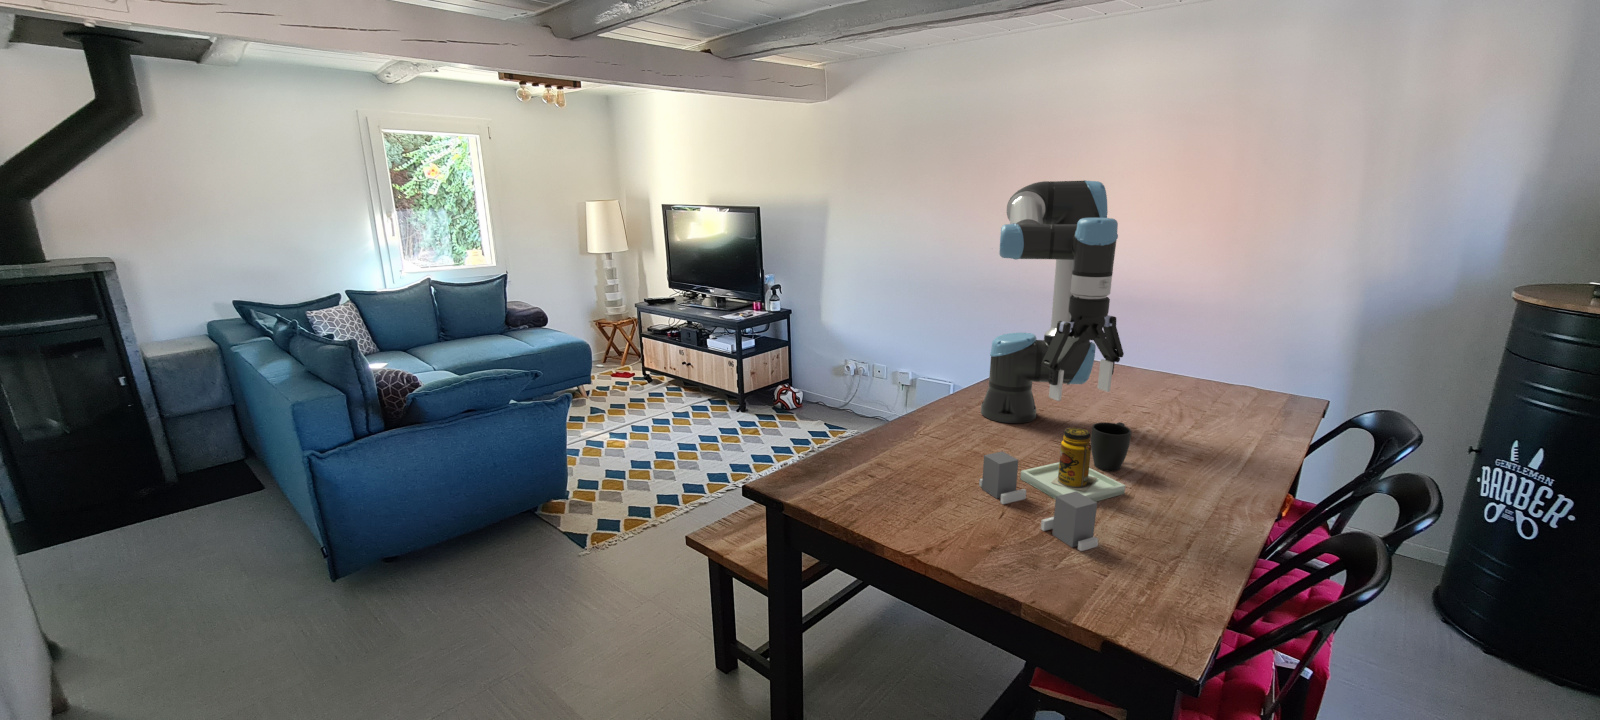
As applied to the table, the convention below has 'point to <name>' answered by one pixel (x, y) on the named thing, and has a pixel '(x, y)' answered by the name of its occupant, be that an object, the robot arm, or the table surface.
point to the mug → (1109, 445)
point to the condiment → (1075, 460)
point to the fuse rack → (1070, 509)
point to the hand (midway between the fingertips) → (1079, 394)
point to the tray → (1096, 492)
